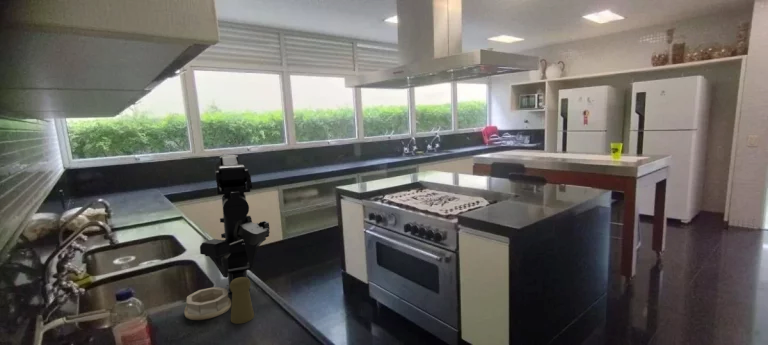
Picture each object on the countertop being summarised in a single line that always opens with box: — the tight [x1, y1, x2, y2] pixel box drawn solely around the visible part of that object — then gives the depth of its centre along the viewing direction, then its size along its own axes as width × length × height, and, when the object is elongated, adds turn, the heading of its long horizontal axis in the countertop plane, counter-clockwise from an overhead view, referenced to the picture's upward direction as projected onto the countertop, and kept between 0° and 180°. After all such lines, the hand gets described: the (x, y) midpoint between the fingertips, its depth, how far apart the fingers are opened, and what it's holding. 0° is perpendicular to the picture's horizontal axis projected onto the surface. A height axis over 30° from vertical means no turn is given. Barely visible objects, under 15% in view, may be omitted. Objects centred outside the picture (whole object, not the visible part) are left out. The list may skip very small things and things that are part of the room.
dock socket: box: [183, 286, 232, 321], centre depth 103 cm, size 12×12×4 cm
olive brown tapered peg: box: [230, 277, 255, 325], centre depth 97 cm, size 6×6×11 cm
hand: (239, 271), depth 96 cm, fingers open, 9 cm apart
